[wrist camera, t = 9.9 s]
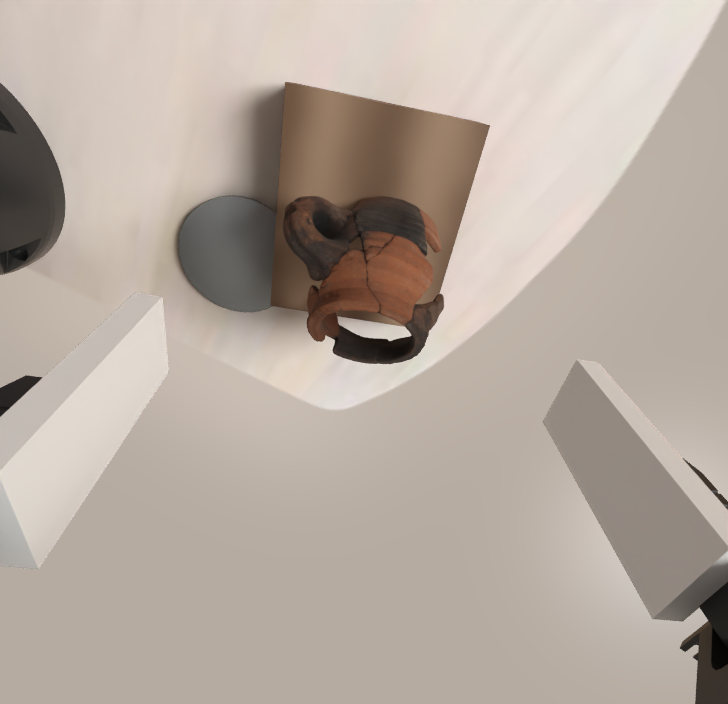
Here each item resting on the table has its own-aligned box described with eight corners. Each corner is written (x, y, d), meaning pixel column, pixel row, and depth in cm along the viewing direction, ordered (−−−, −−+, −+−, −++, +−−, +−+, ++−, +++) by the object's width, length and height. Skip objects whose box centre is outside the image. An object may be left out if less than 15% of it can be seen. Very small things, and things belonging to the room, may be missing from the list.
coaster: (184, 299, 34) (181, 302, 34) (177, 184, 29) (174, 186, 29) (293, 316, 35) (293, 319, 34) (305, 207, 30) (304, 210, 30)
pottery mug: (476, 245, 28) (472, 349, 24) (380, 295, 35) (364, 383, 31) (344, 116, 22) (310, 229, 18) (256, 206, 28) (217, 304, 24)
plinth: (278, 286, 33) (270, 305, 31) (293, 83, 26) (285, 82, 23) (422, 309, 35) (428, 330, 32) (475, 121, 27) (490, 125, 24)
